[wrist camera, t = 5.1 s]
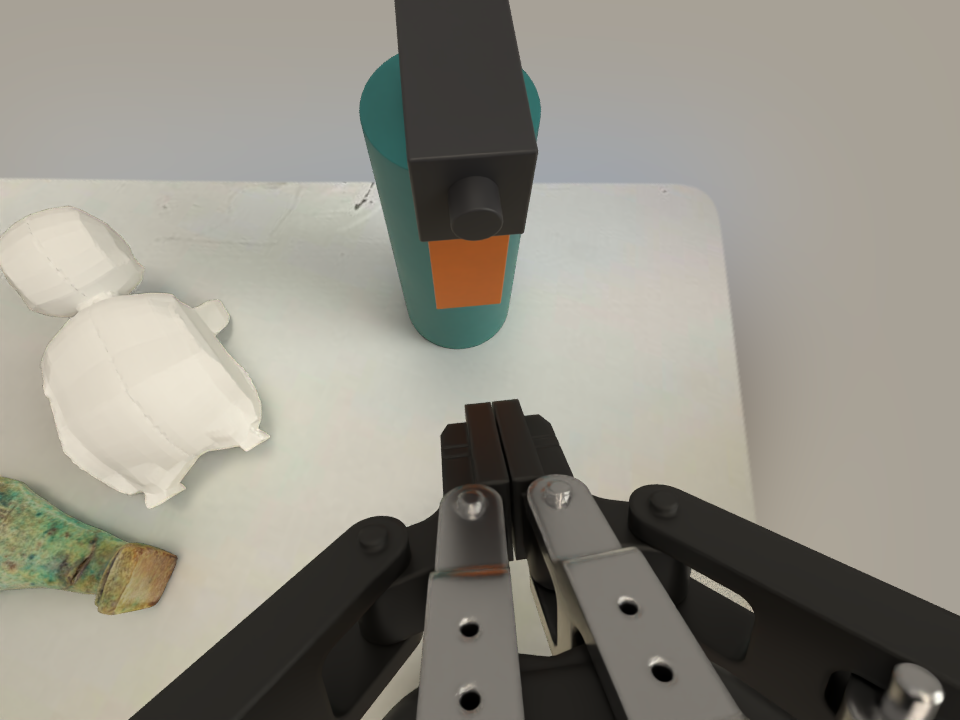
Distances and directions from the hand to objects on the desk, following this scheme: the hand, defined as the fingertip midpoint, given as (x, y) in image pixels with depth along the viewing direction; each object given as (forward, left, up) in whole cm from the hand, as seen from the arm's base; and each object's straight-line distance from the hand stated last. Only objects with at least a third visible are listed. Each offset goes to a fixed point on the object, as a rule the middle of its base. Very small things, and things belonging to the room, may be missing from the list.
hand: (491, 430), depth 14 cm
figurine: (+20, +12, -15) cm, 27 cm away
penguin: (+19, +2, -15) cm, 24 cm away
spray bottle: (+5, -8, -14) cm, 17 cm away
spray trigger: (+3, -5, -3) cm, 7 cm away
